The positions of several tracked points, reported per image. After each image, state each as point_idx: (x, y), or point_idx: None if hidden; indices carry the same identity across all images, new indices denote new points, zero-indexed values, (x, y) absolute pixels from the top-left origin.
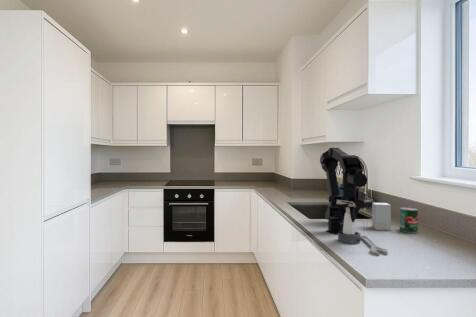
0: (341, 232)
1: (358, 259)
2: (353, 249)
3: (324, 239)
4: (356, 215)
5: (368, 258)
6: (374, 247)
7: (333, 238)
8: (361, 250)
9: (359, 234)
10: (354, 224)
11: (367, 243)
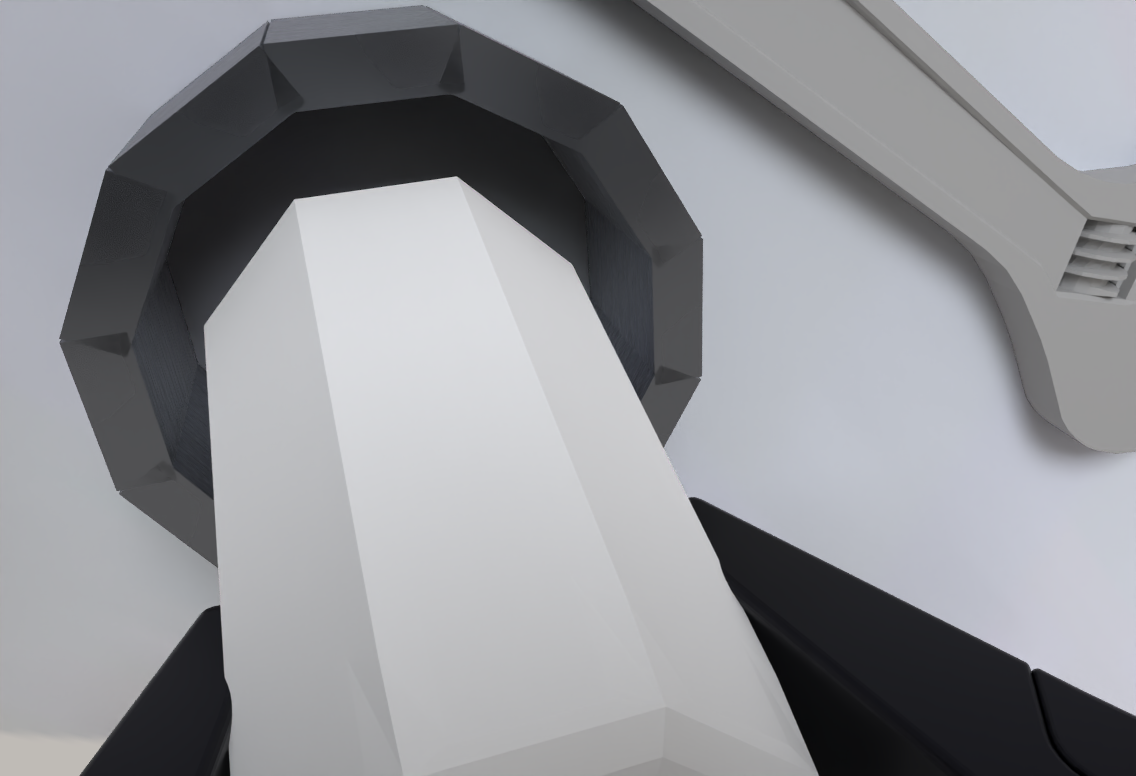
0: (170, 431)
1: (1054, 675)
2: (814, 529)
3: (95, 670)
4: (976, 654)
5: (1112, 567)
6: (1061, 268)
7: (54, 468)
8: (909, 452)
9: (669, 204)
10: (644, 413)
11: (809, 124)
